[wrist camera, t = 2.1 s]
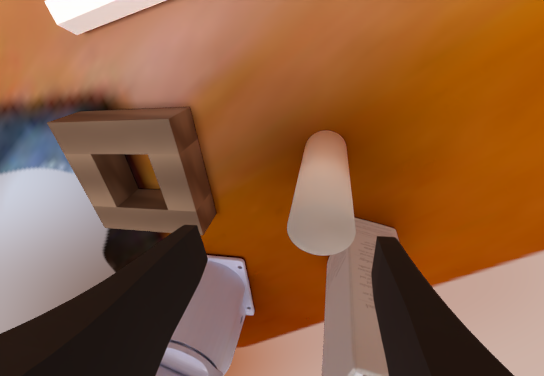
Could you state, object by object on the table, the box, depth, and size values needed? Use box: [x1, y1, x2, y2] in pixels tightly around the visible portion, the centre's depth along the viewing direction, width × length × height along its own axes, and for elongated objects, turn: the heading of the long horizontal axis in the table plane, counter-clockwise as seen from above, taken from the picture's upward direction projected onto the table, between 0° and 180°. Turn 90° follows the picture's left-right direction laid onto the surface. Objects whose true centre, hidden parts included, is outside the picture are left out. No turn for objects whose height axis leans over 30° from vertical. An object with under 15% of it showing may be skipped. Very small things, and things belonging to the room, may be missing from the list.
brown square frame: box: [47, 107, 216, 235], centre depth 22 cm, size 10×10×3 cm
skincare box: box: [322, 218, 399, 376], centre depth 18 cm, size 6×4×12 cm
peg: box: [287, 130, 356, 256], centre depth 15 cm, size 3×3×9 cm
